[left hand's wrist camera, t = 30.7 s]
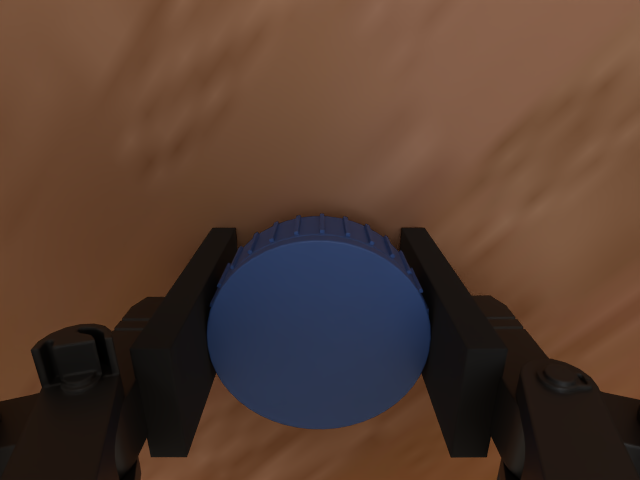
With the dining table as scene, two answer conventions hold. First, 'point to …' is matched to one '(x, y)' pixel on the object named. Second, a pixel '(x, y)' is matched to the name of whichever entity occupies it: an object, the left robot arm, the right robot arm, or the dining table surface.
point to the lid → (318, 324)
